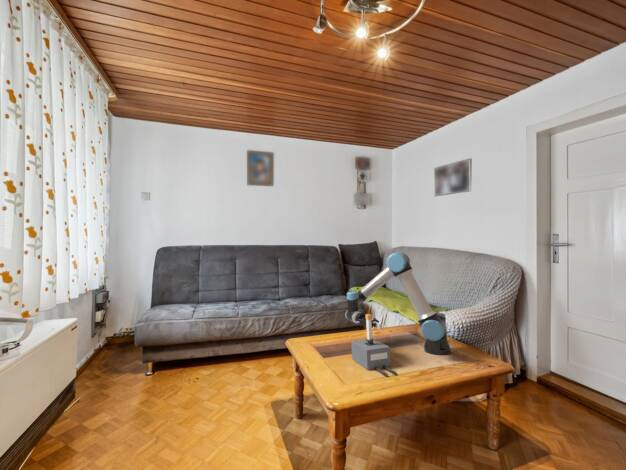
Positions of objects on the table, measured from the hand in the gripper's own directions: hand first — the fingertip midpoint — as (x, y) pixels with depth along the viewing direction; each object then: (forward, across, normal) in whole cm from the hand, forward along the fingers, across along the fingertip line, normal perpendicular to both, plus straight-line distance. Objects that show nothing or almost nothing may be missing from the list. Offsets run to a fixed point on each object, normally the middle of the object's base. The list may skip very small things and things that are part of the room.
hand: (380, 326), depth 155 cm
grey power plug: (0, +4, -20) cm, 21 cm away
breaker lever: (-5, +4, -10) cm, 12 cm away
